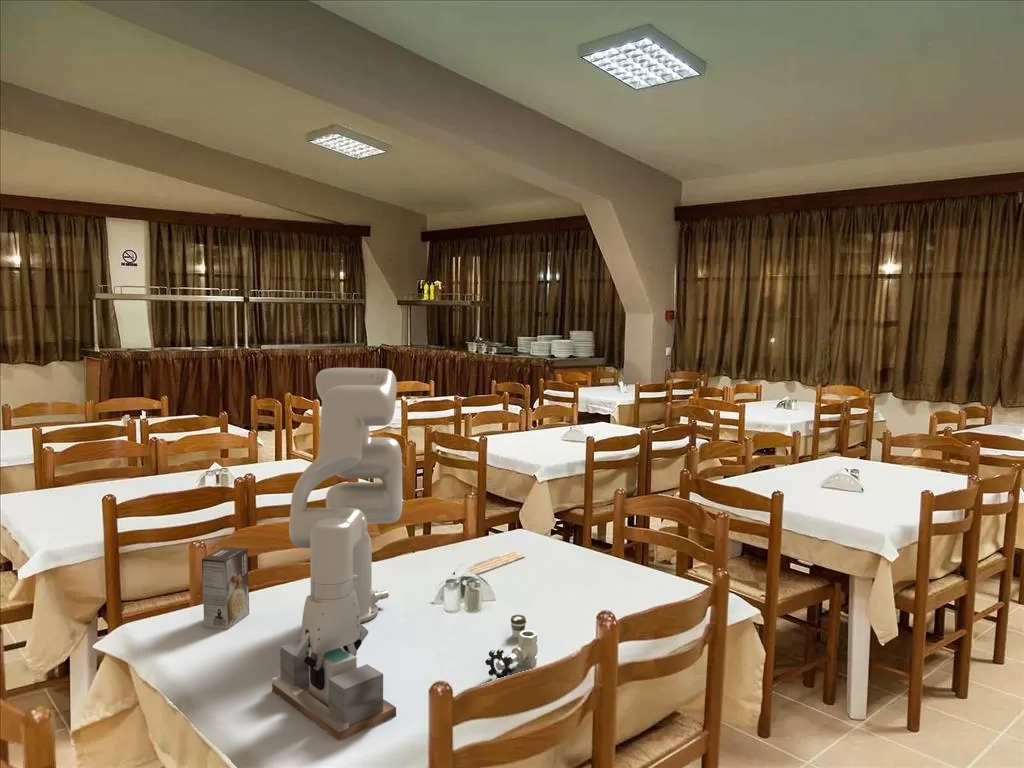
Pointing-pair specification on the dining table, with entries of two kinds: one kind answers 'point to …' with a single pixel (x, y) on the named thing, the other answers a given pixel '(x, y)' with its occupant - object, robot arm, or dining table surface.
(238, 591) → the coffee box
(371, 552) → the robot arm
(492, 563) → the striped wooden board
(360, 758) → the dining table surface
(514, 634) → the coffee cup
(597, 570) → the dining table surface
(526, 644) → the valve
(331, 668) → the module block
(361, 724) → the mounting plate
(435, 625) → the dining table surface
